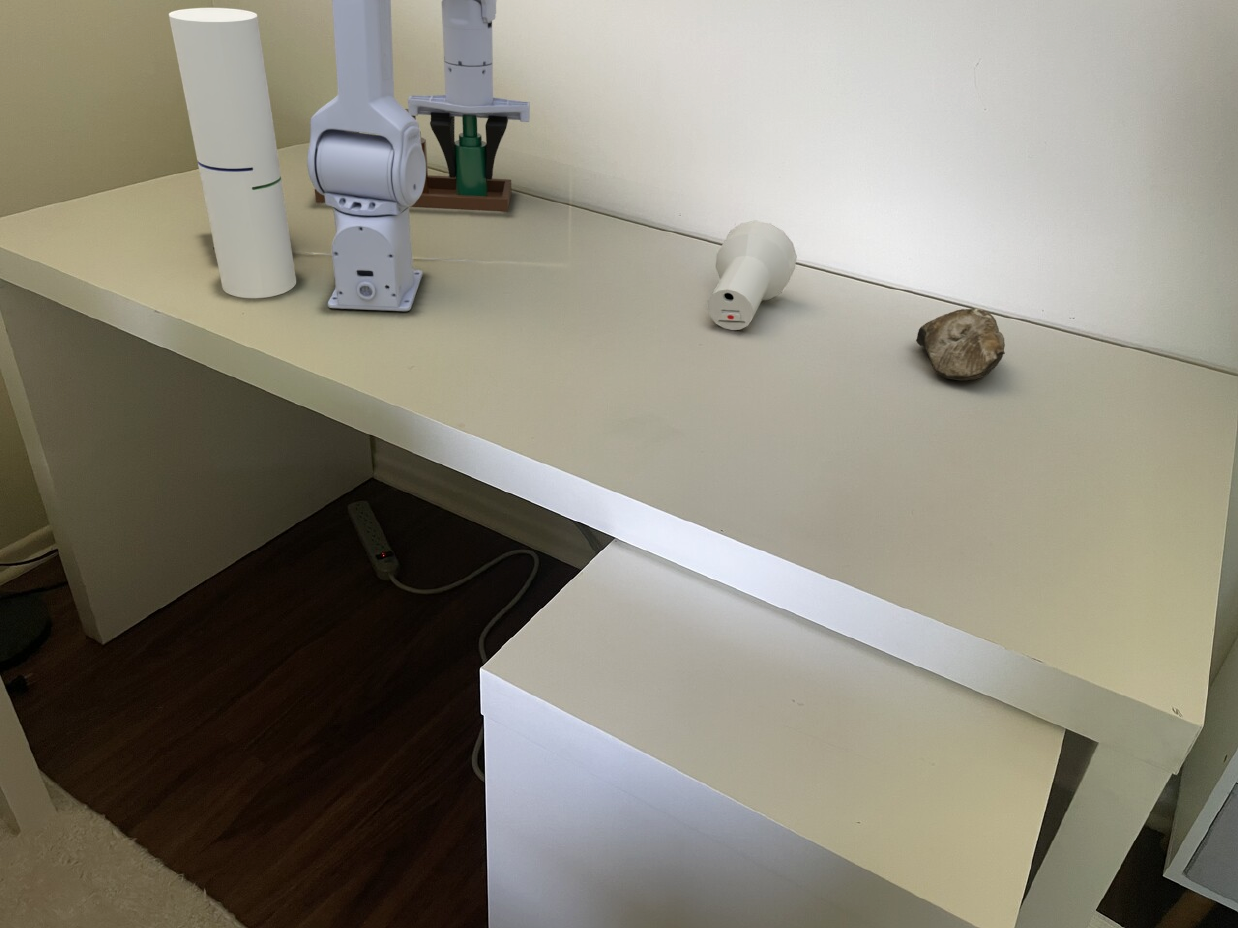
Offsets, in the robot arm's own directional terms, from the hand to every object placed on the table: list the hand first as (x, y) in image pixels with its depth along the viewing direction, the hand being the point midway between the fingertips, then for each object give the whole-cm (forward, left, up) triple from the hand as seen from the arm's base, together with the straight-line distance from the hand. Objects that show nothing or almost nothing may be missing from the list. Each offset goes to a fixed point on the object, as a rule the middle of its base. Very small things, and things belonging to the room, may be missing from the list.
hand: (471, 176), depth 116 cm
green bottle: (0, 0, -3) cm, 3 cm away
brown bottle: (0, +8, -3) cm, 8 cm away
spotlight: (-29, -31, -4) cm, 43 cm away
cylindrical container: (-28, +19, -4) cm, 34 cm away
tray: (0, +7, -3) cm, 8 cm away
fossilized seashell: (-40, -50, -4) cm, 64 cm away
